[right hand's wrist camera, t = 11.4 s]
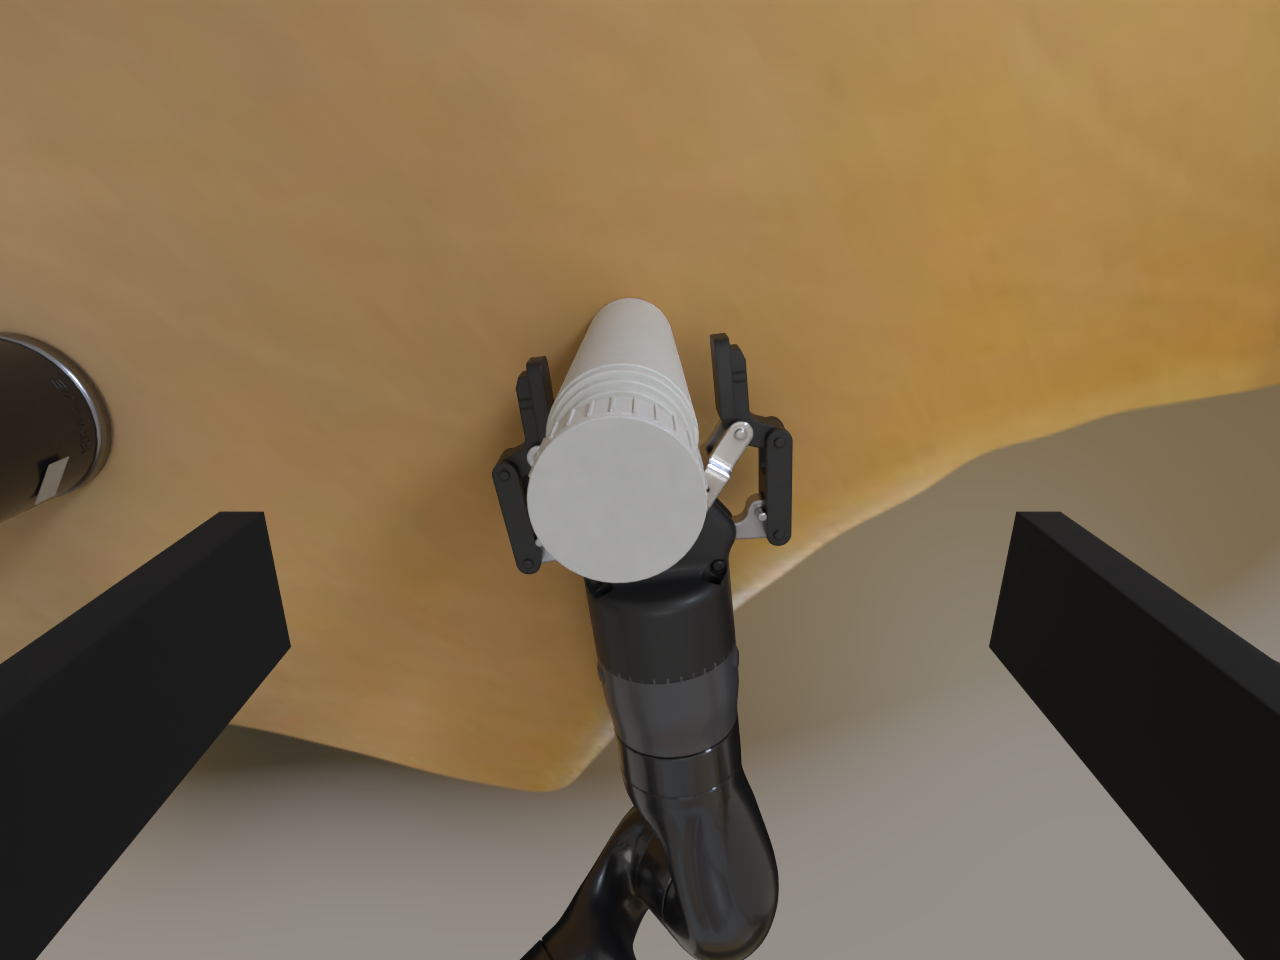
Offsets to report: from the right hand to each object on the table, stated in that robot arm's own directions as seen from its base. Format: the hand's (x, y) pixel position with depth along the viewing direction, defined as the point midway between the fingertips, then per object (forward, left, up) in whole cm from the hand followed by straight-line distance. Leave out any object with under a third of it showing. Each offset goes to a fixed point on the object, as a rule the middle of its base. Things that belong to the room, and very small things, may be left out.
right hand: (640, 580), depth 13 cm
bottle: (0, -1, -28) cm, 28 cm away
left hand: (-1, 0, -22) cm, 22 cm away
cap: (0, -1, -5) cm, 5 cm away
